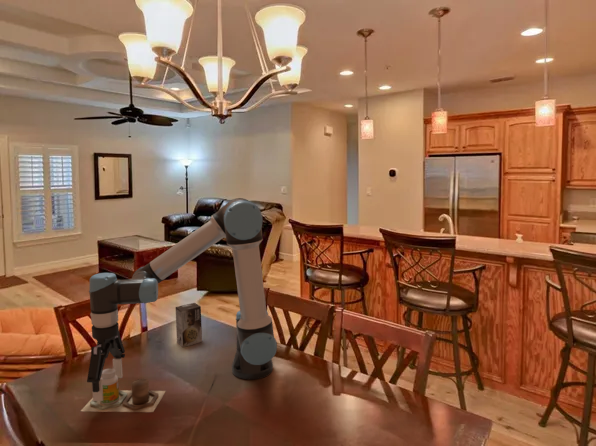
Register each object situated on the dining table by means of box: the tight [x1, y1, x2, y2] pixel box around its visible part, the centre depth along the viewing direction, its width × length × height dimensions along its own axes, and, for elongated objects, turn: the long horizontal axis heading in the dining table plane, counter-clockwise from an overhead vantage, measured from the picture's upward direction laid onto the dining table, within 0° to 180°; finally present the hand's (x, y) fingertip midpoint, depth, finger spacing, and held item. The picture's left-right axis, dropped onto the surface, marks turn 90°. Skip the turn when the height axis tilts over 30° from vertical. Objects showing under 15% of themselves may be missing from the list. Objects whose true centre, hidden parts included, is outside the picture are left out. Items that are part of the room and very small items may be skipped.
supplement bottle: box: [100, 367, 120, 405], centre depth 130 cm, size 5×5×10 cm
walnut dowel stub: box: [131, 378, 150, 405], centre depth 130 cm, size 5×5×6 cm
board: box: [80, 389, 167, 413], centre depth 131 cm, size 22×12×2 cm, turn 90°
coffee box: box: [175, 302, 203, 348], centre depth 177 cm, size 9×6×16 cm
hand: (108, 388), depth 130 cm, fingers open, 13 cm apart
